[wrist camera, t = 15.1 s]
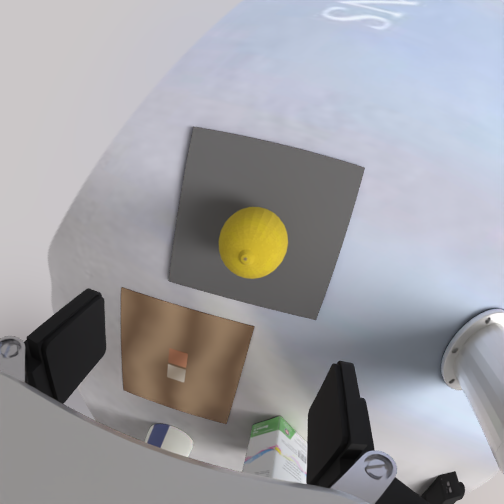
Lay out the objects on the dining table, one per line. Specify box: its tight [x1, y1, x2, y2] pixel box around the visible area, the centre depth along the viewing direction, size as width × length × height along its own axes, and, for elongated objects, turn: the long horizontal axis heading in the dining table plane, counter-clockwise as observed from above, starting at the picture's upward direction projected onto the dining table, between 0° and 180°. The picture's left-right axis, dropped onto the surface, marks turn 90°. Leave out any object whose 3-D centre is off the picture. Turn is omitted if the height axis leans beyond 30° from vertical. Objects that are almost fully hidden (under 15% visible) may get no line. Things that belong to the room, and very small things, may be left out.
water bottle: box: [144, 424, 193, 457], centre depth 31 cm, size 8×9×25 cm
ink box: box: [242, 416, 307, 484], centre depth 34 cm, size 9×5×12 cm, turn 34°
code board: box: [121, 287, 254, 424], centre depth 37 cm, size 16×18×1 cm
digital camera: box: [421, 471, 465, 504], centre depth 39 cm, size 10×5×7 cm, turn 1°
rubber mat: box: [169, 127, 365, 320], centre depth 29 cm, size 16×16×1 cm
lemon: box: [219, 207, 288, 279], centre depth 25 cm, size 6×6×8 cm
